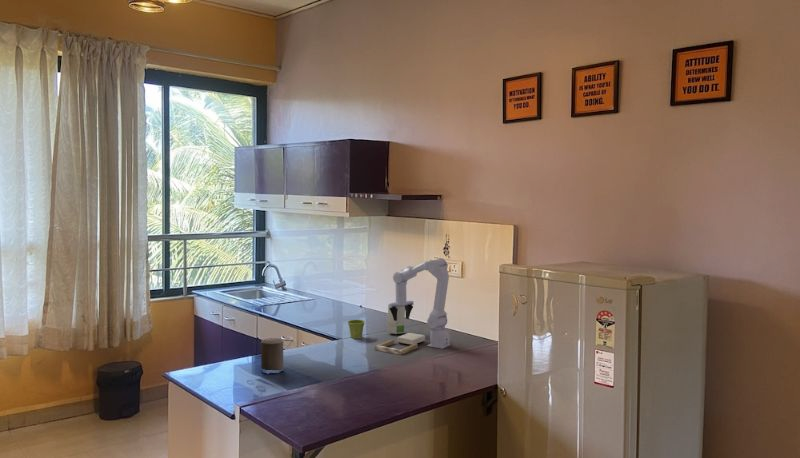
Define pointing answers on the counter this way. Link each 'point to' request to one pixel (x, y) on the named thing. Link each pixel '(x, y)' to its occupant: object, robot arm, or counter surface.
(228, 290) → the counter surface
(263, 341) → the pillar candle
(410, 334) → the cream tile slab
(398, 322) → the skincare box
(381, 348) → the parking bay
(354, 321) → the plant pot
